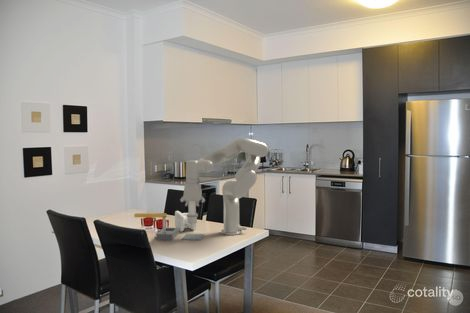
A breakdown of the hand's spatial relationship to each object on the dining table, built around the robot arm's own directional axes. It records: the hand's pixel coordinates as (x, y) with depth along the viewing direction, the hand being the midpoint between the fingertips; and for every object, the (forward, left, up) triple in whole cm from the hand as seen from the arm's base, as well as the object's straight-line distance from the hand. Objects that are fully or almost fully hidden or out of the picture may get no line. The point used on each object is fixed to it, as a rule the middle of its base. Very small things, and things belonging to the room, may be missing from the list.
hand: (192, 212), depth 220 cm
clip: (+22, +8, -1) cm, 24 cm away
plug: (0, 0, -6) cm, 6 cm away
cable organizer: (+9, -18, -15) cm, 25 cm away
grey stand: (+15, 0, -15) cm, 21 cm away
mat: (0, 0, -15) cm, 15 cm away
